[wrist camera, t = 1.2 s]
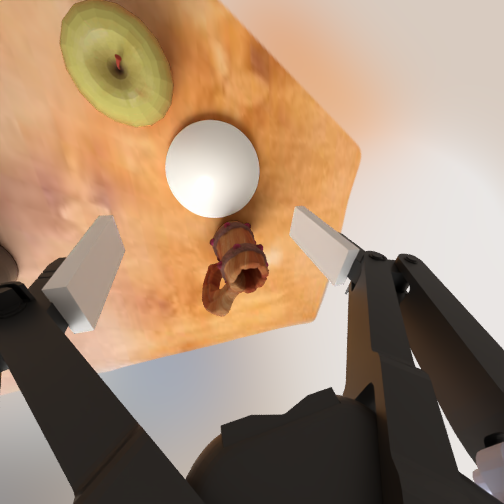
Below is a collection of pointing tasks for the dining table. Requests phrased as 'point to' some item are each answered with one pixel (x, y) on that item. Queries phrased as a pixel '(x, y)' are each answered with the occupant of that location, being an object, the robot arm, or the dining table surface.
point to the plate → (212, 168)
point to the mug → (233, 267)
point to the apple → (116, 63)
